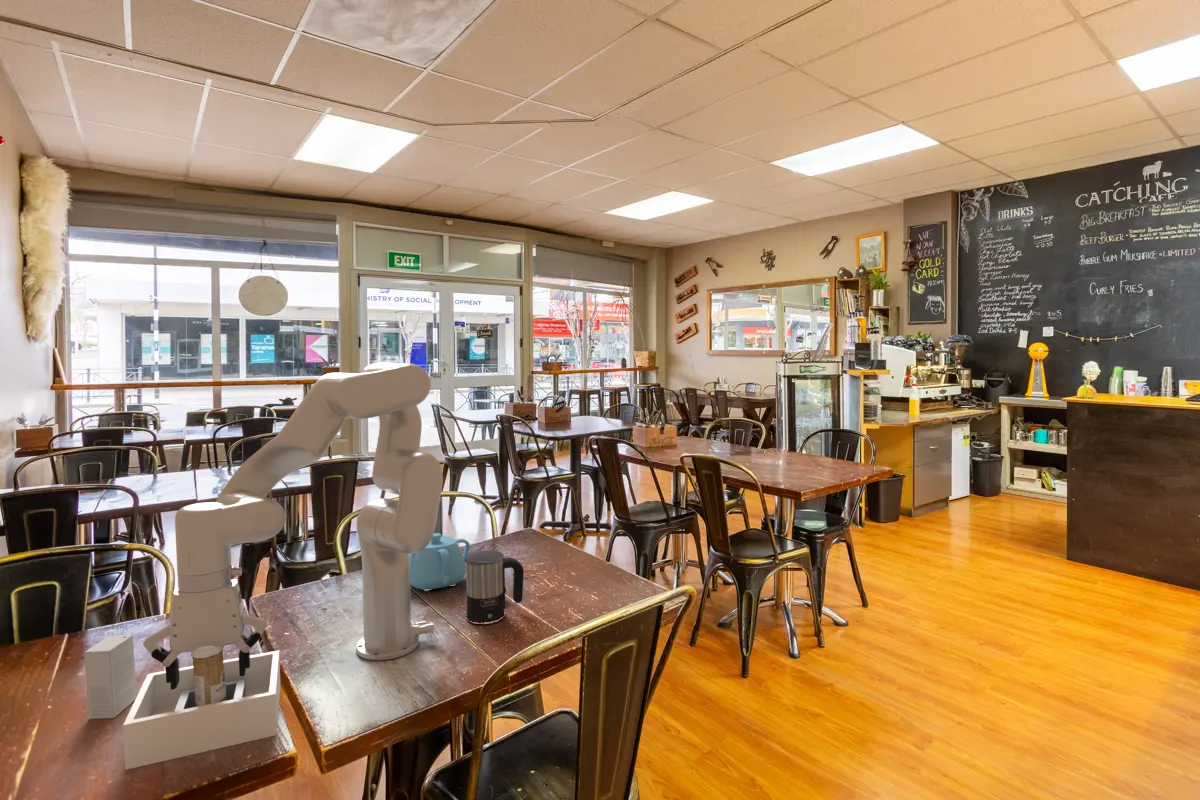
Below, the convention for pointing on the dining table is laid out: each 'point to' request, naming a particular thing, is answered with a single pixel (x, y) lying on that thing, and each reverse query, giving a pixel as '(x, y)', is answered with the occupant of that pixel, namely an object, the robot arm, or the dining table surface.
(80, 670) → the dining table surface
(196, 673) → the sprinkles bottle
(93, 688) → the skincare box
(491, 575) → the milk frother
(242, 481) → the robot arm
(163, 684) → the divided box
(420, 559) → the decorative pot
